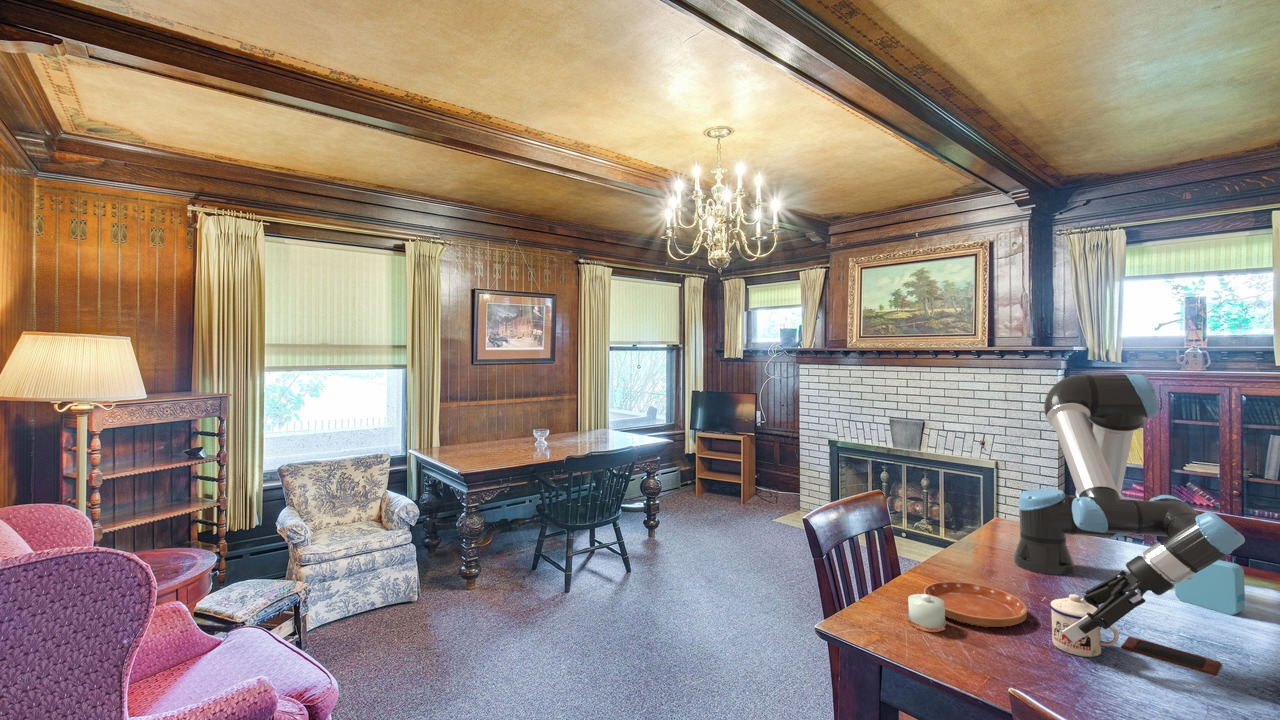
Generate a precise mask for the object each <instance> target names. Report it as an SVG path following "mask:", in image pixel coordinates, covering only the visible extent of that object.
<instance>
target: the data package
mask: <svg viewBox="0 0 1280 720" xmlns="http://www.w3.org/2000/svg"><path fill="white" fill-rule="evenodd" d="M1192 577H1193V579H1191V580H1189V579H1186V580H1184V581H1182V582H1181V583H1179V584H1177V583H1174V595H1175V597H1176V598H1177V599H1178V600H1179V601H1181V602H1184V603H1188V604H1191V605H1193V606H1197V607H1201V608H1205V609H1207V610H1211V611H1214V612H1218V613H1221V614H1222V613H1223V614H1225V615H1229V616H1233V615H1234V616H1235V615H1237V614H1239V613H1241V612H1243V611H1245V608H1246V596H1245V595H1246V593H1245V591H1246V590H1245V588H1246V587H1245V570H1244V569H1243V567H1242V566H1241V565H1240V564H1238V563H1235V562H1230V561H1225V560H1221V559H1219V560H1218V561H1216V562H1214V563H1213V564H1211V565H1209V566H1208V567H1206V568H1204V569H1202V570H1201V571H1199V572H1197V573H1195V574H1194V575H1192Z"/></svg>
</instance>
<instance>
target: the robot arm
mask: <svg viewBox="0 0 1280 720" xmlns="http://www.w3.org/2000/svg"><path fill="white" fill-rule="evenodd" d="M1158 404H1159V403H1158V397H1157V393H1156V390H1155V387H1154V385H1153V383H1152V382H1151V381H1150V379H1149V378H1148V377H1147V376H1145V375H1143V374H1135V373H1133V374H1128V373H1123V374H1121V373H1120V374H1075V375H1070V376H1067V377H1065V378H1063V379H1061V380H1059V381H1058V382H1056V384H1054V385H1053V386H1052V387H1051V389H1050V390H1049V391H1048V393H1047V395H1046V397H1045V400H1044V407H1043V409H1044V416H1045V417H1046V418H1045V419H1046V420H1047V422H1048V424H1049V425H1051V426H1052V427H1053V428H1054V430H1055V433H1056V436H1057V439H1058V441H1059V445H1060V448H1061V451H1062V453H1063V456H1064V459H1065V462H1066V464H1067V467H1068V471H1069V472H1070V476H1071V478H1072V481H1073V484H1074V487H1075V493H1074V495H1070V494H1069V495H1066V494H1065V492H1064V491H1063V490H1061V489H1056V488H1055V489H1053V488H1035V489H1033V488H1032V489H1029V490H1025V491H1022V492H1021V493H1020V495H1019V498H1018V499H1019V501H1018V511H1019V515H1018V516H1019V532H1020V533H1019V535H1020V536H1019V537H1020V538H1019V540H1018V542H1017V545H1016V549H1015V550H1014V551H1015V552H1014V555H1013V557H1014V564H1015V565H1017V566H1018V567H1021V568H1022V569H1025V570H1027V571H1032V572H1035V573H1039V574H1047V575H1056V576H1057V575H1058V576H1059V575H1061V576H1063V575H1070V574H1072V573H1074V572H1075V562H1074V559H1073V557H1072V555H1071V553H1070V550H1069V547H1068V545H1067V535H1073V536H1085V537H1086V536H1087V537H1095V538H1096V537H1097V538H1105V539H1107V538H1108V539H1109V538H1123V537H1125V536H1126V535H1127V534H1128V535H1129V534H1130V535H1140V536H1142V535H1144V536H1154V537H1155V536H1156V537H1157V536H1158V537H1164V538H1163V539H1161V540H1160V541H1158V542H1156V543H1154V544H1153V545H1151V546H1149V547H1148V548H1147V549H1145V550H1144V551H1143V552H1142V555H1143V556H1142V555H1136V557H1135V556H1134V558H1132V559H1130V560H1129V561H1128V562H1126V564H1125V567H1126V569H1127V570H1128V571H1129V572H1128V573H1127V572H1126V571H1125V570H1123V569H1122V570H1119V572H1118V573H1116V574H1115V575H1113V576H1111V577H1110V578H1108V579H1106V580H1104V581H1102V582H1100V583H1098V584H1097V585H1094V586H1093V587H1092V588H1090V589H1087V590H1085V592H1084V594H1085V595H1084V596H1083V597H1081V598H1080V600H1082V601H1084V602H1086V603H1088V604H1091V605H1093V606H1095V607H1096V608H1097V610H1096V611H1095V612H1094V613H1093V614H1091V613H1088V612H1087V615H1086V616H1085V617H1083V618H1082V619H1080V620H1078V621H1077V622H1075V623H1074V624H1072V625H1071V626H1069V627H1067V628H1066V629H1064V630H1063V631H1062V632H1063V633H1064V634H1065V635H1066V636H1067V637H1068V638H1069V639H1070V640H1071V641H1072V642H1073V643H1075V642H1076V641H1078V640H1080V639H1081V638H1083V637H1084V636H1086V635H1088V634H1089V633H1091V632H1093V631H1094V630H1096V629H1097V628H1099V627H1100V628H1103V630H1108V629H1109V627H1110V626H1111V625H1112V626H1114V624H1115V623H1117V622H1118V621H1120V620H1121V619H1122V618H1123V617H1125V616H1126V615H1128V614H1129V613H1130V612H1132V611H1133V610H1134V609H1136V608H1137V607H1139V606H1140V605H1142V604H1144V603H1145V602H1146V599H1145V598H1143V596H1144V595H1145V594H1146V593H1147V592H1148V591H1150V592H1152V593H1153V594H1154V595H1157V596H1162V595H1163V594H1165V593H1166V592H1169V591H1170V590H1171V589H1173V588H1174V587H1175V583H1177V584H1179V583H1181V582H1182V581H1184V580H1186V579H1189V580H1191V579H1193V577H1192V575H1194V574H1195V573H1197V572H1199V571H1201V570H1202V569H1204V568H1206V567H1208V566H1209V565H1211V564H1213V563H1214V562H1216V561H1218V560H1221V559H1223V558H1225V557H1226V556H1228V555H1231V553H1232V554H1233V551H1234V550H1236V549H1238V548H1239V547H1241V546H1242V545H1244V544H1245V542H1246V539H1245V536H1244V535H1242V533H1240V532H1239V531H1237V529H1235V528H1234V527H1233V526H1231V525H1230V524H1229V523H1228V522H1227V521H1225V520H1224V519H1223V518H1221V517H1220V516H1219V515H1217V514H1216V513H1215V512H1213V511H1210V510H1209V511H1208V510H1207V511H1205V512H1203V513H1201V514H1200V513H1198V512H1197V511H1196V510H1195V509H1194V507H1192V506H1191V505H1190V504H1188V503H1187V502H1185V501H1183V500H1182V499H1180V498H1178V497H1176V496H1173V495H1170V494H1160V495H1157V496H1154V497H1152V498H1150V499H1149V500H1144V499H1143V500H1140V499H1139V500H1138V499H1137V500H1136V499H1126V498H1125V496H1124V495H1123V494H1122V493H1121V492H1122V489H1123V483H1124V480H1125V475H1126V470H1127V465H1128V461H1129V460H1128V459H1129V454H1130V450H1131V445H1132V440H1133V435H1134V432H1135V431H1138V430H1139V429H1141V428H1142V427H1143V424H1144V421H1145V419H1153V418H1155V417H1156V416H1157V413H1158V410H1159V409H1158V408H1159V407H1158ZM1091 423H1092V424H1093V426H1091ZM1100 605H1101V606H1100Z"/></svg>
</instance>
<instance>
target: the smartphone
mask: <svg viewBox="0 0 1280 720" xmlns="http://www.w3.org/2000/svg"><path fill="white" fill-rule="evenodd" d="M1120 649H1123V650H1125V651H1129V652H1131V653H1135V654H1136V653H1137V654H1138V655H1139V654H1140V655H1143V656H1147V657H1149V658H1154V659H1157V660H1159V661H1163V662H1167V663H1169V664H1174V665H1177V666H1181V667H1184V668H1187V669H1191V670H1193V671H1196V672H1200V673H1204V674H1207V675H1211V676H1215V677H1216V676H1217V675H1218V673H1219V670H1220V668H1221V666H1222V663H1221V661H1218V660H1216V659H1215V660H1214V659H1212V658H1208V657H1205V656H1201V655H1199V654H1195V653H1191V652H1188V651H1184V650H1180V649H1176V648H1173V647H1170V646H1166V645H1162V644H1158V643H1155V642H1151V641H1148V640H1144V639H1140V638H1137V637H1132V636H1127V639H1126V640H1125V641H1124V642H1123V643H1122V644H1121V646H1120Z"/></svg>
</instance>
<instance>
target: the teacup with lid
mask: <svg viewBox="0 0 1280 720" xmlns="http://www.w3.org/2000/svg"><path fill="white" fill-rule="evenodd" d="M1049 608H1050V609H1051V637H1052V638H1051V639H1052V644H1053V645H1054V646H1055V647H1056V648H1057V649H1059V650H1060V651H1063V652H1065V653H1068V654H1071V655H1074V656H1078V657H1084V658H1085V657H1086V658H1087V657H1088V658H1095V657H1098V656H1099V655H1101V653H1102V646H1104V647H1112V646H1114V645H1116V644H1117V642H1118V640H1119V636H1120V635H1119V634H1120V633H1119V632H1118V629H1117V628H1116V627H1115V626H1114V625H1111V626H1110V627H1109V628H1108V629H1109V630H1111V632H1112V633H1113V639H1112V640H1111V641H1104V640H1102V639H1101V635H1102V634H1101V627H1099V628H1097V629H1096V630H1094V631H1093V632H1091V633H1089V634H1088V635H1086V636H1084V637H1083V638H1081V639H1080V640H1078V641H1076V642H1075V643H1073V642H1072V641H1071V640H1070V639H1069V638H1068V637H1067V636H1066V635H1065V634H1064V633H1063V632H1062V631H1063V630H1064V629H1066V628H1067V627H1069V626H1071V625H1072V624H1074V623H1075V622H1077V621H1078V620H1080V619H1082V618H1083V617H1085V616H1086V615H1087V612H1088V613H1091V614H1093V613H1094V612H1095V611H1096V610H1097V608H1096V607H1095V606H1093V605H1091V604H1088V603H1086V602H1084V601H1082V600H1081V597H1080V595H1077V594H1073V593H1071V594H1069V595H1068V597H1064V598H1055V599H1053V600H1051V602H1050V604H1049Z"/></svg>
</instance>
